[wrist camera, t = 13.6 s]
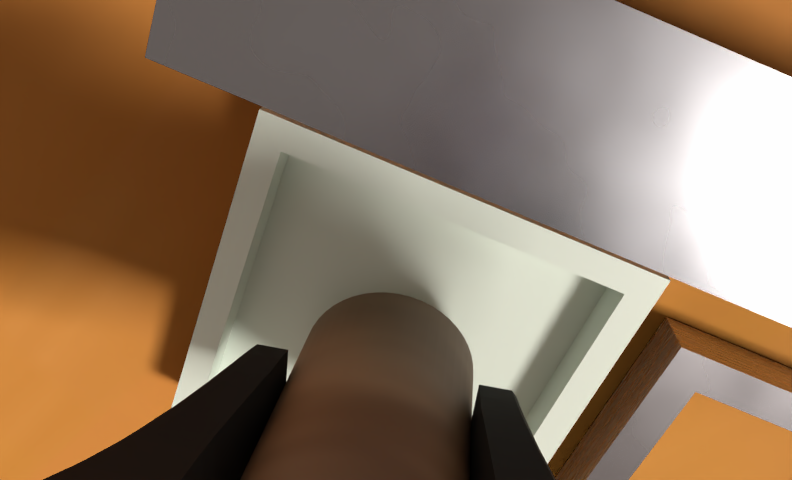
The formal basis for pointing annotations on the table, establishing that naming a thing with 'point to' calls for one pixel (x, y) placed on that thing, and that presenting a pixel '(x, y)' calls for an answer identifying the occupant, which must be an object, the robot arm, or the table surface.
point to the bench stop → (534, 117)
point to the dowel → (373, 398)
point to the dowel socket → (676, 398)
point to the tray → (413, 273)
